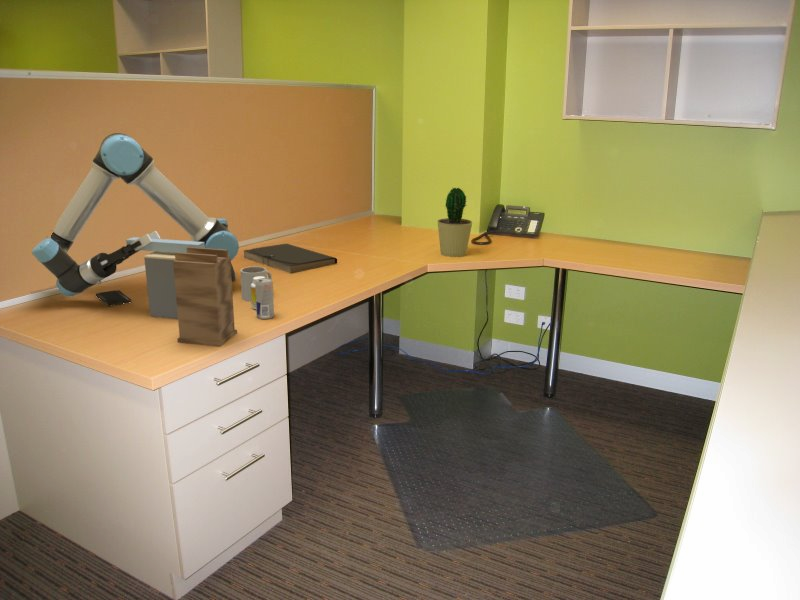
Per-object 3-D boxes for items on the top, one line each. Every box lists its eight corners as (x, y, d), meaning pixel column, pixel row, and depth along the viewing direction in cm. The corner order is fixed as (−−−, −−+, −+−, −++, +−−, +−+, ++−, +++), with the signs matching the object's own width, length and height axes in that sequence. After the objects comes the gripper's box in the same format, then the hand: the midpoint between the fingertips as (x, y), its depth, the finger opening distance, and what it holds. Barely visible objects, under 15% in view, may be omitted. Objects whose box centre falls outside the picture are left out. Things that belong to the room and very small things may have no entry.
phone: (118, 289, 227) (132, 300, 216) (118, 292, 228) (132, 303, 217) (94, 293, 223) (107, 304, 211) (94, 296, 223) (107, 307, 212)
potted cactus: (438, 258, 283) (441, 188, 274) (433, 249, 298) (436, 183, 288) (473, 258, 284) (477, 189, 275) (467, 249, 299) (470, 184, 290)
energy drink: (261, 313, 209) (260, 277, 205) (277, 315, 208) (275, 278, 204) (253, 318, 204) (251, 281, 201) (269, 320, 203) (267, 283, 199)
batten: (134, 246, 205) (133, 237, 204) (205, 251, 201) (204, 242, 200) (127, 249, 202) (126, 239, 201) (198, 254, 197) (198, 244, 196)
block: (167, 306, 213) (161, 248, 207) (201, 309, 211) (196, 251, 205) (150, 316, 204) (144, 256, 198) (185, 319, 202) (180, 258, 196)
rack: (196, 329, 194) (189, 245, 186) (237, 332, 192) (232, 248, 184) (177, 342, 184) (169, 254, 176) (220, 346, 182) (214, 257, 174)
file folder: (242, 249, 275) (289, 242, 292) (243, 259, 276) (289, 251, 293) (289, 264, 253) (337, 256, 270) (289, 275, 254) (337, 265, 271)
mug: (250, 303, 218) (249, 274, 215) (237, 297, 224) (235, 269, 221) (281, 296, 227) (280, 268, 224) (267, 290, 233) (266, 263, 229)
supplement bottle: (260, 311, 211) (258, 281, 208) (248, 308, 214) (246, 278, 211) (272, 307, 215) (271, 277, 212) (261, 304, 218) (259, 274, 215)
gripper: (121, 271, 216) (174, 240, 209) (88, 285, 200) (144, 253, 193) (108, 251, 215) (161, 220, 208) (74, 264, 199) (130, 230, 192)
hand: (153, 236), depth 201 cm, fingers closed on batten, 4 cm apart
